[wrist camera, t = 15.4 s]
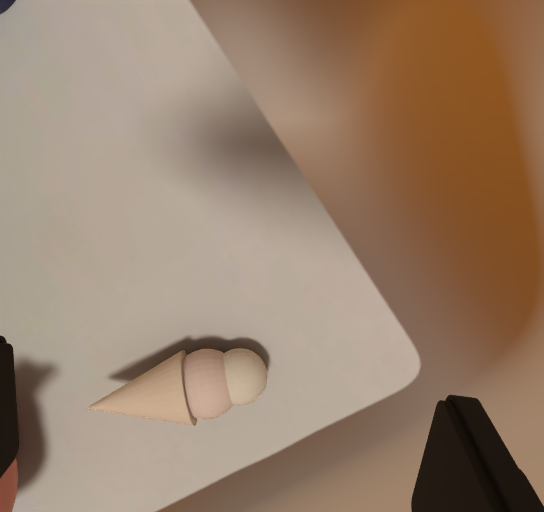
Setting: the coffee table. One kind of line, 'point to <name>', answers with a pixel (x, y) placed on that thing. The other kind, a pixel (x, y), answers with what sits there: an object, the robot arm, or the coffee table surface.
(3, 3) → the water bottle
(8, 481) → the balloon
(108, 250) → the coffee table surface
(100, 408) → the ice cream cone
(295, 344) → the coffee table surface
